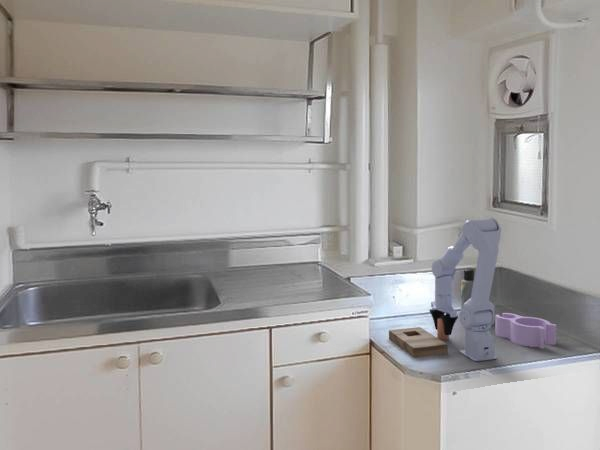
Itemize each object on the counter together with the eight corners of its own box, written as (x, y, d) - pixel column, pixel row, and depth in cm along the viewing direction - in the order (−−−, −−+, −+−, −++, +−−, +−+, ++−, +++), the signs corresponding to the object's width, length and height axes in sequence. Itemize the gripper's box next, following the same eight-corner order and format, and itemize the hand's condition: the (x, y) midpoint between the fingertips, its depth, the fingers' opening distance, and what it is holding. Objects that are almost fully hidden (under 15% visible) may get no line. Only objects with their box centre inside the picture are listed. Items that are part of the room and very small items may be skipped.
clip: (487, 335, 195) (488, 316, 195) (509, 329, 202) (510, 311, 201) (538, 350, 179) (538, 330, 178) (560, 343, 185) (561, 323, 184)
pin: (451, 339, 191) (451, 320, 190) (440, 340, 190) (440, 321, 189) (445, 336, 195) (445, 317, 194) (435, 337, 194) (435, 318, 193)
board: (447, 353, 178) (447, 344, 177) (413, 357, 175) (413, 348, 174) (419, 335, 197) (419, 327, 196) (388, 338, 194) (388, 330, 194)
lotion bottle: (478, 317, 217) (479, 268, 215) (471, 320, 213) (472, 270, 211) (465, 315, 221) (465, 266, 219) (458, 318, 217) (458, 268, 215)
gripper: (423, 290, 197) (423, 327, 198) (443, 299, 183) (443, 339, 184) (441, 289, 198) (440, 325, 200) (462, 298, 184) (461, 337, 186)
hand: (443, 331), depth 192 cm, fingers open, 6 cm apart
